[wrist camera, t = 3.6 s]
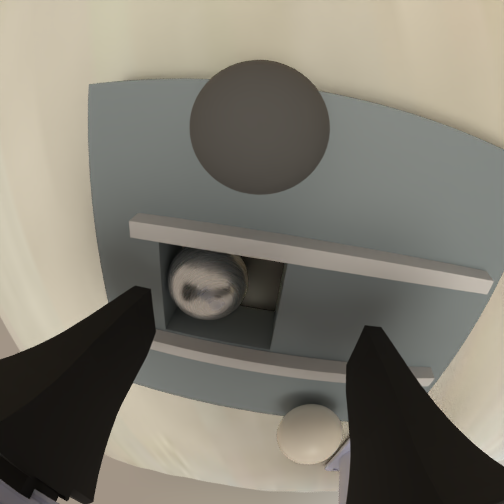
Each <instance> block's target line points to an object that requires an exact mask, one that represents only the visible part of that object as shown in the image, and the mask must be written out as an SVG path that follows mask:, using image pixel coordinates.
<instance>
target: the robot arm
mask: <svg viewBox="0 0 504 504" xmlns="http://www.w3.org/2000/svg"><path fill="white" fill-rule="evenodd" d="M155 334H156V327H155V319H154V311H153V303H152V294H151V289H149V288H145V287H140V286H136V285H135V286H133V287H132V288H130V289H129V290H127V291H126V292H124V293H123V294H121V295H120V296H118V297H117V298H115V299H114V300H112V301H111V302H109V303H108V304H106V305H105V306H103V307H102V308H100V309H99V310H97V311H96V312H94V313H93V314H91V315H90V316H88V317H87V318H85V319H84V320H82V321H80V322H79V323H77V324H75V325H74V326H72V327H70V328H69V329H67V330H66V331H64V332H62V333H60V334H59V335H57V336H55V337H53V338H51V339H49V340H47V341H45V342H43V343H41V344H39V345H37V346H34V347H32V348H30V349H27V350H25V351H22V352H20V353H17V354H15V355H13V356H9V357H6V358H3V359H0V504H59V503H57V502H56V500H57V498H58V497H60V498H62V499H64V500H66V501H68V500H69V497H71V498H73V499H75V500H77V501H78V502H80V503H82V504H89V503H92V502H93V500H94V494H95V489H96V484H97V479H98V474H99V470H100V466H101V462H102V459H103V455H104V452H105V448H106V445H107V442H108V439H109V436H110V433H111V430H112V427H113V424H114V421H115V419H116V416H117V413H118V411H119V409H120V407H121V405H122V402H123V401H124V399H125V397H126V395H127V393H128V391H129V389H130V387H131V385H132V384H133V382H134V380H135V378H136V376H137V374H138V372H139V370H140V368H141V367H142V365H143V363H144V361H145V359H146V357H147V355H148V352H149V350H150V347H151V345H152V342H153V339H154V336H155ZM346 401H347V412H348V423H349V435H350V438H349V439H348V440H347V442H346V443H345V444H344V445H343V446H342V447H341V449H340V450H339V451H338V452H337V453H336V454H335V456H334V457H333V458H332V459H331V460H330V461H329V462H328V463H327V464H326V466H325V470H327V471H339V504H504V466H502V465H501V464H499V463H498V462H496V461H495V460H493V459H492V458H491V457H489V456H488V455H487V454H486V453H484V452H483V451H482V450H481V449H479V448H478V447H477V446H476V445H475V444H474V443H472V442H471V441H470V440H469V439H468V438H467V437H466V436H465V435H464V434H463V433H462V432H461V431H460V430H459V429H458V428H457V427H456V426H455V425H454V424H453V423H452V422H451V421H450V420H449V419H448V418H447V417H446V415H445V414H444V413H443V412H442V411H441V410H440V409H439V407H438V406H437V405H436V404H435V403H434V401H433V400H432V399H431V398H430V396H429V395H428V394H427V392H426V391H425V390H424V388H423V387H422V386H421V384H420V383H419V382H418V380H417V379H416V377H415V376H414V375H413V373H412V372H411V370H410V369H409V367H408V366H407V364H406V363H405V361H404V360H403V358H402V357H401V355H400V354H399V352H398V351H397V349H396V348H395V346H394V345H393V343H392V342H391V340H390V339H389V337H388V336H387V334H386V333H385V332H384V330H383V329H382V327H377V326H368V325H365V326H364V328H363V330H362V332H361V335H360V337H359V339H358V341H357V343H356V346H355V348H354V350H353V352H352V354H351V356H350V358H349V360H348V362H347V364H346Z"/></svg>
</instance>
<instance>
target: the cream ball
mask: <svg viewBox="0 0 504 504" xmlns="http://www.w3.org/2000/svg"><path fill="white" fill-rule="evenodd" d="M342 435H343V430H342V425H341V422H340V420H339V418H338V417H337V415H336V414H335V413H334V412H333V411H332V410H330V409H329V408H327V407H325V406H322V405H318V404H305V405H301V406H298V407H296V408H294V409H292V410H291V411H289V412H288V413H287V414H286V415H285V416H284V417H283V419H282V420H281V422H280V424H279V427H278V430H277V442H278V445H279V448H280V450H281V451H282V453H283V454H284V455H285V456H286V457H287V458H289V459H290V460H292V461H294V462H296V463H300V464H306V465H309V464H316V463H320V462H322V461H324V460H326V459H328V458H329V457H331V456H332V455H333V454H334V453H335V452H336V450H337V449H338V447H339V446H340V443H341V440H342Z"/></svg>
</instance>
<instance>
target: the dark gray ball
mask: <svg viewBox="0 0 504 504" xmlns="http://www.w3.org/2000/svg"><path fill="white" fill-rule="evenodd" d="M329 135H330V120H329V115H328V110H327V107H326V105H325V102H324V100H323V98H322V96H321V94H320V93H319V91H318V90H317V88H316V87H315V86H314V85H313V84H312V82H311V81H310V80H309V79H307V78H306V77H305V76H304V75H303V74H301V73H300V72H298V71H297V70H295V69H293V68H291V67H289V66H287V65H284V64H281V63H278V62H274V61H268V60H252V61H245V62H241V63H237V64H234V65H232V66H229V67H227V68H226V69H224V70H222V71H220V72H219V73H217V74H216V75H215V76H213V77H212V78H211V79H210V80H209V81H208V82H207V83H206V84H205V85H204V87H203V88H202V89H201V91H200V92H199V94H198V96H197V97H196V100H195V102H194V104H193V107H192V111H191V116H190V139H191V143H192V147H193V150H194V152H195V155H196V157H197V159H198V160H199V162H200V164H201V165H202V166H203V168H204V169H205V170H206V171H207V172H208V173H209V174H210V175H211V176H212V177H213V178H214V179H215V180H217V181H218V182H219V183H221V184H223V185H224V186H226V187H228V188H230V189H232V190H235V191H238V192H242V193H247V194H255V195H267V194H274V193H278V192H282V191H285V190H287V189H290V188H292V187H294V186H296V185H297V184H299V183H301V182H302V181H303V180H304V179H306V178H307V177H308V176H309V175H310V174H311V173H312V172H313V171H314V170H315V168H316V167H317V166H318V164H319V163H320V161H321V160H322V158H323V156H324V154H325V151H326V149H327V145H328V141H329Z"/></svg>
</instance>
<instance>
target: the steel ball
mask: <svg viewBox="0 0 504 504" xmlns="http://www.w3.org/2000/svg"><path fill="white" fill-rule="evenodd" d="M247 286H248V274H247V269H246V266H245V264H244V262H243V260H242V258H241V257H240V255H234V254H228V253H222V252H216V251H209V250H203V249H197V248H191V247H183V248H182V249H181V250H180V251H179V252H178V253H177V254H176V256H175V257H174V258H173V260H172V262H171V264H170V267H169V271H168V288H169V292H170V295H171V297H172V299H173V301H174V302H175V304H176V305H177V306H178V307H179V308H180V309H181V310H182V311H183V312H184V313H186V314H187V315H189V316H191V317H194V318H196V319H201V320H216V319H220V318H223V317H225V316H227V315H229V314H230V313H232V312H233V311H234V310H235V309H236V308H237V307H238V306H239V305H240V303H241V302H242V300H243V299H244V297H245V294H246V291H247Z"/></svg>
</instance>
